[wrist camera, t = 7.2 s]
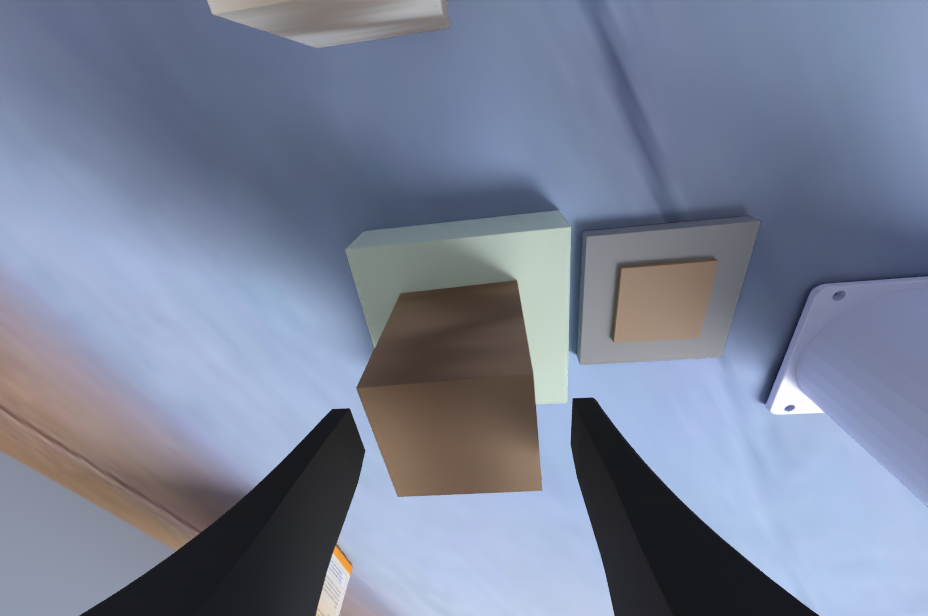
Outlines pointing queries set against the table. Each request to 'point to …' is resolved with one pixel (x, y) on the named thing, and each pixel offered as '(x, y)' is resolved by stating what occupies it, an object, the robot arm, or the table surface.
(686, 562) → the robot arm
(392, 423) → the walnut block
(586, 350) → the tile
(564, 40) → the table surface
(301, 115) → the table surface
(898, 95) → the table surface
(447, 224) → the green block
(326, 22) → the ash block
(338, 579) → the supplement box
